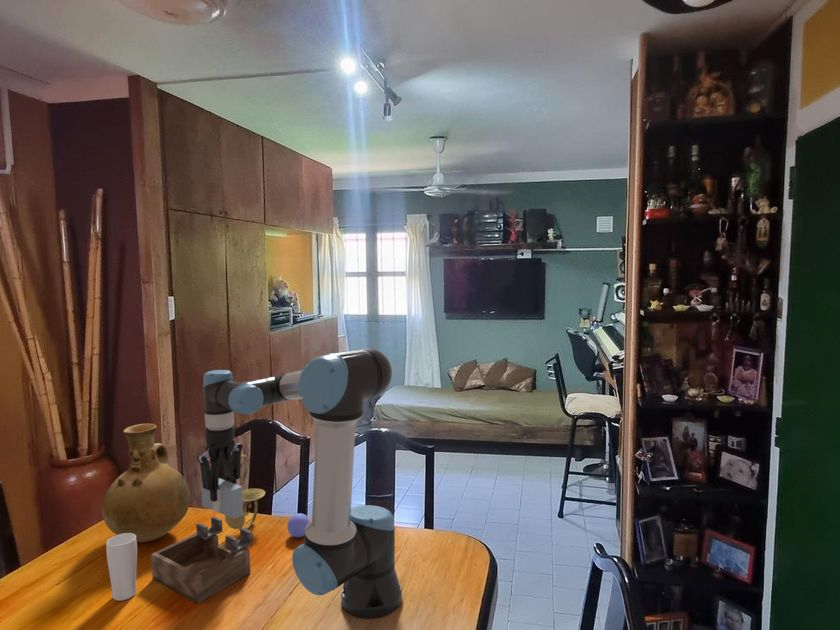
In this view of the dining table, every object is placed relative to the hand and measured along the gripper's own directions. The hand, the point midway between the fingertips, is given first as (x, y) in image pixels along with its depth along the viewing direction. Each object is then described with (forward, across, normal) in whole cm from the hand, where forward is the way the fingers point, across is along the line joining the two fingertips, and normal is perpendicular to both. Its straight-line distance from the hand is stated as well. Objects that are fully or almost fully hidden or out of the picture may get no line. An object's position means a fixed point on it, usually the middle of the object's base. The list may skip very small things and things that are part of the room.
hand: (222, 508), depth 151 cm
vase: (+16, +4, -32) cm, 36 cm away
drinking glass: (+16, +23, -9) cm, 30 cm away
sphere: (+16, -23, +6) cm, 29 cm away
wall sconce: (+16, -16, -11) cm, 26 cm away
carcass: (+16, +6, 0) cm, 17 cm away
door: (+1, 0, 0) cm, 1 cm away
